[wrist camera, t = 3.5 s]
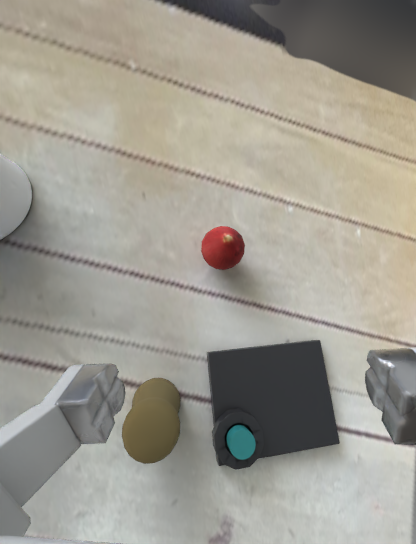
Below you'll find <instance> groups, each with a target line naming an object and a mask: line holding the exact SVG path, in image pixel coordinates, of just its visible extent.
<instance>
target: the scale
mask: <svg viewBox="0 0 416 544" xmlns="http://www.w3.org/2000/svg"><path fill="white" fill-rule="evenodd" d="M207 358H208V369H209V380H210V391H211V402H212V413H213V424H214V428H213V431H212V436H213V446H214V449H215V451H216V456H217V462H218V465H219V466H221V465H227V466H229V467H231V468H234V469H241V468H246V467H250V466H251V465H252V464H253V463H254V462H255V461H256V460H257V459H259V458H264V457H270V456H275V455H280V454H286V453H291V452H296V451H302V450H307V449H313V448H318V447H323V446H329V445H334V444H339V438H338V432H337V427H336V422H335V416H334V411H333V406H332V401H331V395H330V390H329V385H328V380H327V374H326V369H325V364H324V359H323V353H322V348H321V343H320V340H311V341H302V342H294V343H285V344H276V345H267V346H258V347H249V348H240V349H231V350H222V351H213V352H207ZM235 425H243V426H245V427H246V428H247V429H248V430H249V431H250V432H251V434H252V435H253V436H254V439H255V450H254V452H253V454H252V455H251V456H250V457H249V458H247V459H245V460H240V459H237V458H236V457H234V456H233V454H232V453H231V451H230V449H229V447H228V445H227V441H226V438H227V433H228V431H229V430H230V429H231V428H232V427H233V426H235Z"/></svg>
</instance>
